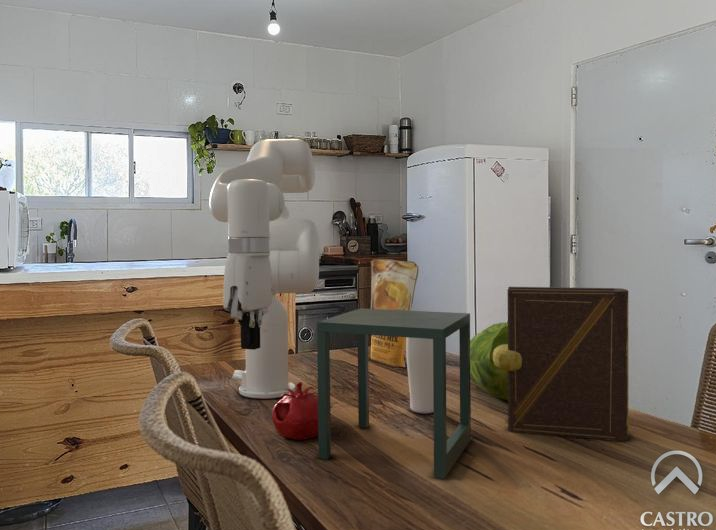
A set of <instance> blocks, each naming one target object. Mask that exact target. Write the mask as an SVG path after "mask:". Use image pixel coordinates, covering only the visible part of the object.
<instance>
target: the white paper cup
mask: <svg viewBox="0 0 716 530" xmlns="http://www.w3.org/2000/svg"><path fill="white" fill-rule="evenodd" d="M405 361H406V370H407V381H408V390H409V391H408V392H409V393H408V394H409V408H410V410H411V411H412V412H414V413H417V414H434V402H433V339H425V338H409V337H406V346H405Z"/></svg>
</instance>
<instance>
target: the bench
mask: <svg viewBox="0 0 716 530" xmlns="http://www.w3.org/2000/svg"><path fill="white" fill-rule="evenodd" d="M456 332H459V335H458V337H459V424H458V426H457V427H456V428H455V429H454V431H453V432H452V433H451V435H450V436H449V437H448V439H447V435H448V434H447V338H448V337H450V336H451V335H452V334H454V333H456ZM330 333H334V334H335V333H336V334H347V335H348V334H350V335H357V388H358V389H357V397H358V398H357V400H358V401H357V402H358V403H357V405H358V406H357V407H358V408H357V409H358V428H363V429H367V428H368V427H369V426H370V392H369V391H370V387H369V386H370V384H369V381H370V380H369V376H370V375H369V374H370V373H369V336H372V335H379V336H394V337H409V338H425V339H433V402H434V412H433V478H434V479H435V478H436V479H442V480H445V479H446V477H447V476H448V474H449V473H450V471H451V470H452V468H453V466H454V465H455V464H456V462H457V461H458V459H459V458H460V456H462V455H461V454H462V453H463V452H464V451H465V450H466V449H465V448H467V446H468V444H469V443H470V441H471V440H472V417H471V416H472V411H471V410H472V404H471V402H472V401H471V400H472V399H471V396H472V395H471V392H472V391H471V387H472V385H471V382H472V381H471V379H470V341H471V313H470V312H469V313H468V312H447V311H429V310H427V311H426V310H411V311H406V310H384V309H371V308H361V307H360V308H357V309H353V310H350V311H348V312H345V313H341V314H339V315H335V316H331V317H329V318H325V319H322V320H319V321H317V322H316V347H317V348H316V350H317V351H316V354H317V355H316V356H317V357H316V359H317V363H316V364H317V393H318V394H317V395H318V436H317V437H318V459H323V460H328V459H330V458H331V457H332V434H331V433H332V427H331V421H332V420H331V354H330V352H331V351H330V349H331V348H330V347H331V345H330V344H331V343H330V342H331V341H330Z"/></svg>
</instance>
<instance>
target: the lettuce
mask: <svg viewBox="0 0 716 530" xmlns="http://www.w3.org/2000/svg"><path fill="white" fill-rule="evenodd" d="M504 344H508V321H507V322H506V321H505V322H497V323H493V324H491V325H490V326H488V327H486V328H485V329H483V330H482V331H481V332H479V333H476V334H475V335H474V336H473V337H472V338H471V339H470V381H471V382H472V383H473V384H474V385H475V386H476V387H478V388H479V389H480V390H482V391H484V392H485V393H488V394H489V395H491V396H493V397H495V398H499V399H502V400H504V401H507V402H508V371H506V370H502V369H500V368H498V367H497V366H496V365H495V364H494V361H493V351H494V349H495V348H496V347H498V346H500V345H504Z"/></svg>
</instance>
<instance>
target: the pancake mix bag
mask: <svg viewBox="0 0 716 530" xmlns="http://www.w3.org/2000/svg"><path fill="white" fill-rule="evenodd" d="M369 262H370V281H371V282H370V283H371V285H370V309H384V310H406V311H412V307H413V303H414V297H415V290H416V284H417V280H418V277H419V265H417V263H416V262H415V261H410V260H397V259H386V258H374V259H372V260H371V261H369ZM370 339H371V341H370V360H371V361H374V362H377V363H380V364H383V365H386V366H390V367H393V368H407V361H406V356H405V352H406V337H394V336H379V335H371V337H370Z"/></svg>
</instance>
